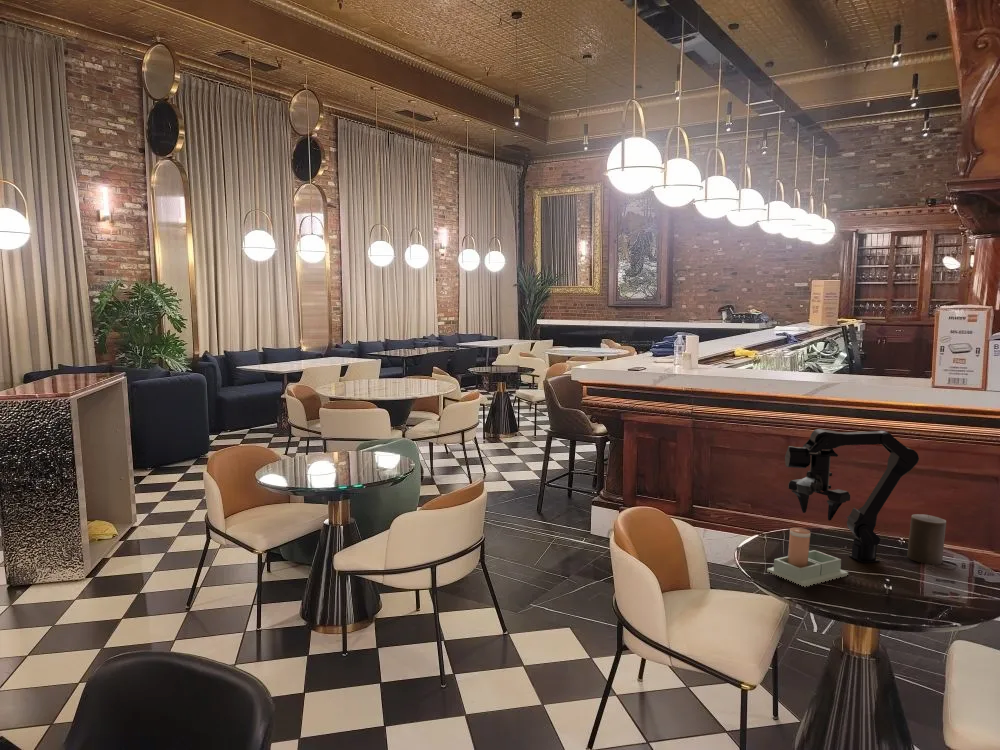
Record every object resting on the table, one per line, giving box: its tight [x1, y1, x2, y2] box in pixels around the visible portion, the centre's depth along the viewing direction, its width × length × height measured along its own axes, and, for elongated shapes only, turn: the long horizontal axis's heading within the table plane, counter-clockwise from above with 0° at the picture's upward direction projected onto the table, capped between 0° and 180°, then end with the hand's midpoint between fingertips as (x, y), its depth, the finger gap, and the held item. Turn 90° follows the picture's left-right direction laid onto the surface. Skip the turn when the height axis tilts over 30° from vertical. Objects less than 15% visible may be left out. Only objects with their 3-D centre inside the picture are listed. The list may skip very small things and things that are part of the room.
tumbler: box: [787, 527, 812, 568], centre depth 205 cm, size 6×6×13 cm
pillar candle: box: [906, 513, 947, 566], centre depth 222 cm, size 10×10×15 cm
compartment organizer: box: [766, 549, 849, 588], centre depth 208 cm, size 20×13×4 cm, turn 120°
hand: (816, 516), depth 223 cm, fingers open, 9 cm apart
